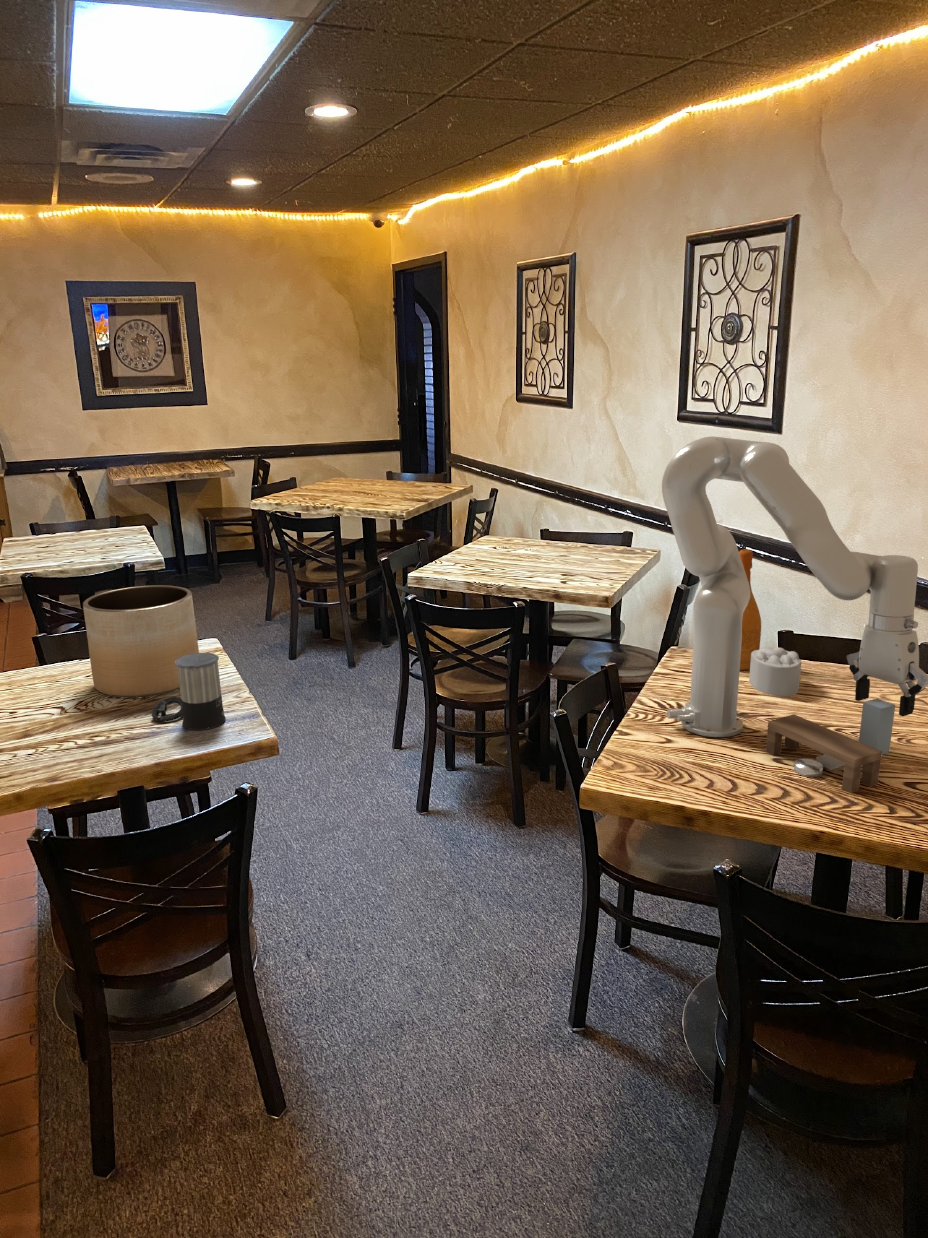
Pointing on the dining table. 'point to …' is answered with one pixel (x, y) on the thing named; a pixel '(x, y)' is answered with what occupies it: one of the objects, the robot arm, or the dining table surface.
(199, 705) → the milk frother
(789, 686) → the lumpy-topped squat cylinder
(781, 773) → the dining table surface
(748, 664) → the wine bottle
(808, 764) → the token
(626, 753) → the dining table surface
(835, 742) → the stand
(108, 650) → the beige ceramic crock
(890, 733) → the grey block
